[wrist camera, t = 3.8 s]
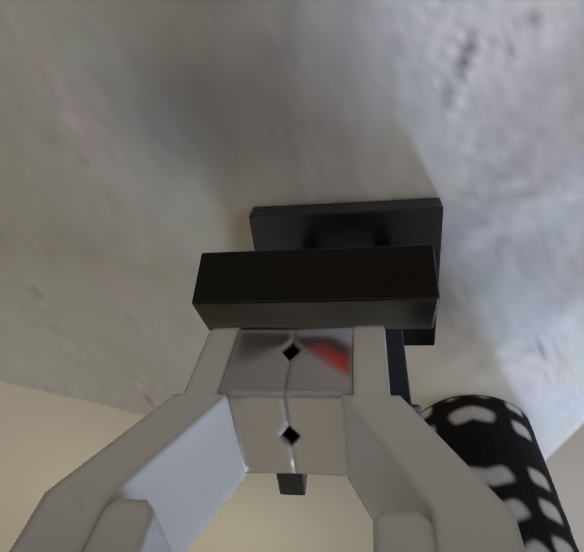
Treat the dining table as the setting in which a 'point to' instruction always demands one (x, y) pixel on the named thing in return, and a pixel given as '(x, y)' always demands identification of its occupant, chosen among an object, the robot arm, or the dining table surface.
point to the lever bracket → (346, 234)
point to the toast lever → (319, 288)
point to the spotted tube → (506, 465)
